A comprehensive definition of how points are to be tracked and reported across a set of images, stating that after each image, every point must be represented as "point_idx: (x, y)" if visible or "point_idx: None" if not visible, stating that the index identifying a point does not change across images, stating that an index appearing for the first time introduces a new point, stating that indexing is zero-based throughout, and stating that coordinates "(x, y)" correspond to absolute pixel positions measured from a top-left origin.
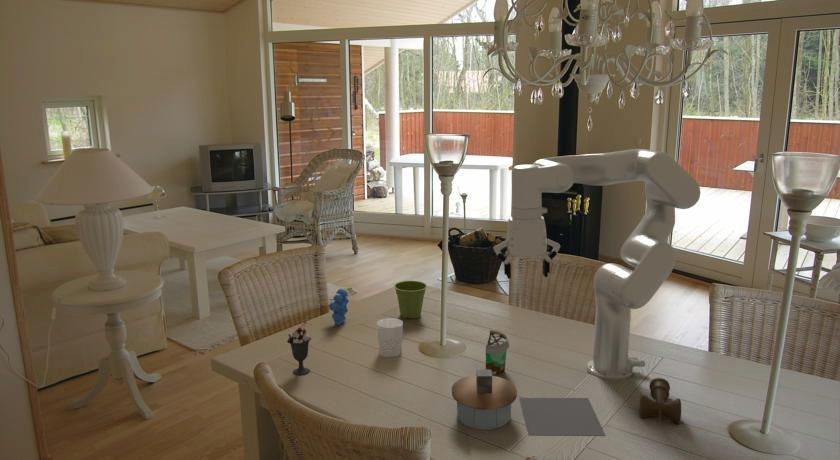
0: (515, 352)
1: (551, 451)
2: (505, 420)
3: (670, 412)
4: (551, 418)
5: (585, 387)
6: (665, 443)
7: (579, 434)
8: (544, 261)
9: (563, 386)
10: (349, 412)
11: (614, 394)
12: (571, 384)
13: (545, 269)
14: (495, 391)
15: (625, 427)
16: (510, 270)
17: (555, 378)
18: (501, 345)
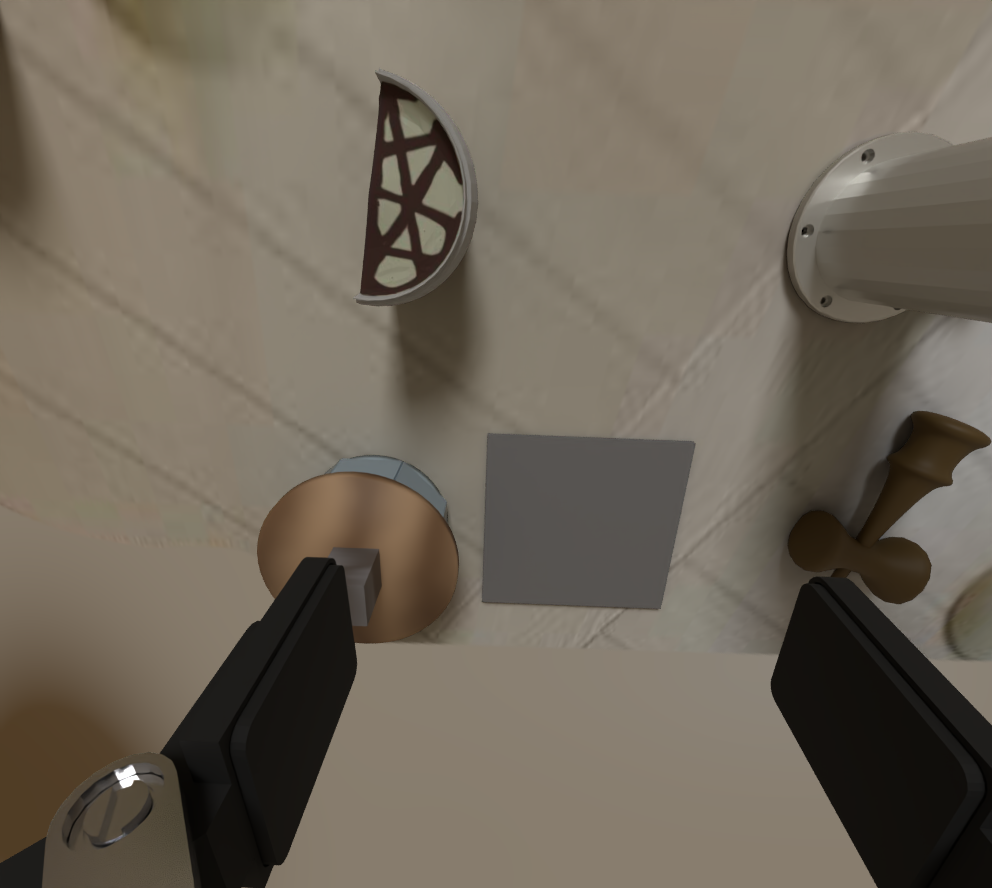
0: (541, 4)
1: (522, 643)
2: None
3: (867, 581)
4: (554, 540)
5: (720, 364)
6: (781, 628)
7: (601, 603)
8: (945, 852)
9: (649, 354)
10: (13, 484)
11: (789, 412)
12: (682, 341)
13: (831, 791)
14: (392, 578)
15: (726, 570)
16: (317, 769)
17: (642, 293)
18: (429, 281)
